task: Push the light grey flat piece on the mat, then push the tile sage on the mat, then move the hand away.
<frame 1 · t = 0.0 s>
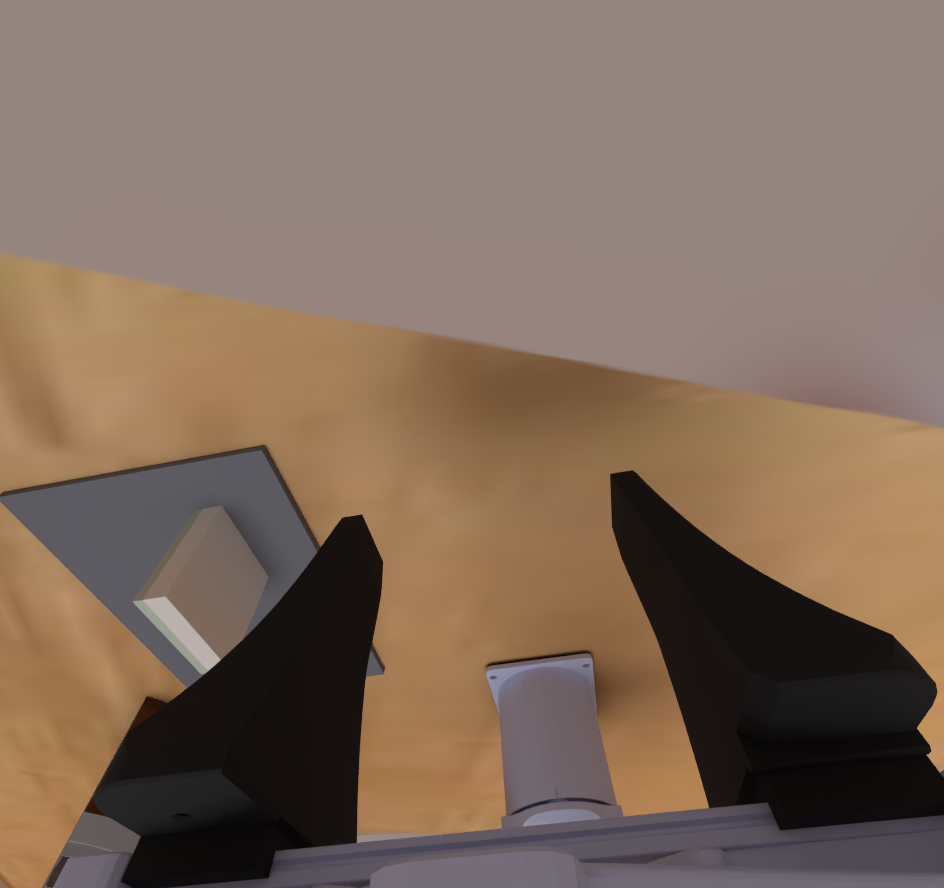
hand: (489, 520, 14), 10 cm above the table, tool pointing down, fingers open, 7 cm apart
tile sage: (234, 545, 28), resting on mat
food container: (172, 728, 41), on the table
mat: (225, 595, 31), on the table
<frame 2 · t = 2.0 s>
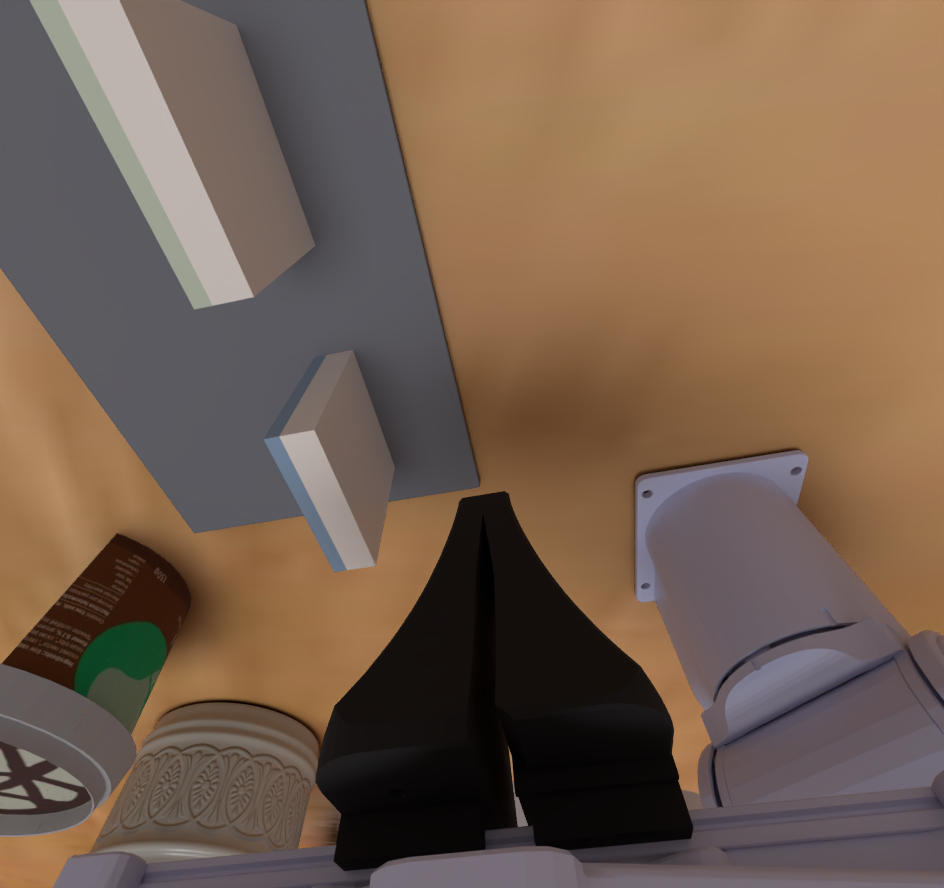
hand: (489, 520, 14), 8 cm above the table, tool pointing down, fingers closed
tile sage: (256, 153, 15), resting on mat
jar: (241, 737, 38), on the table
light grey flat piece: (358, 416, 21), resting on mat
food container: (157, 598, 28), on the table
mat: (239, 304, 18), on the table
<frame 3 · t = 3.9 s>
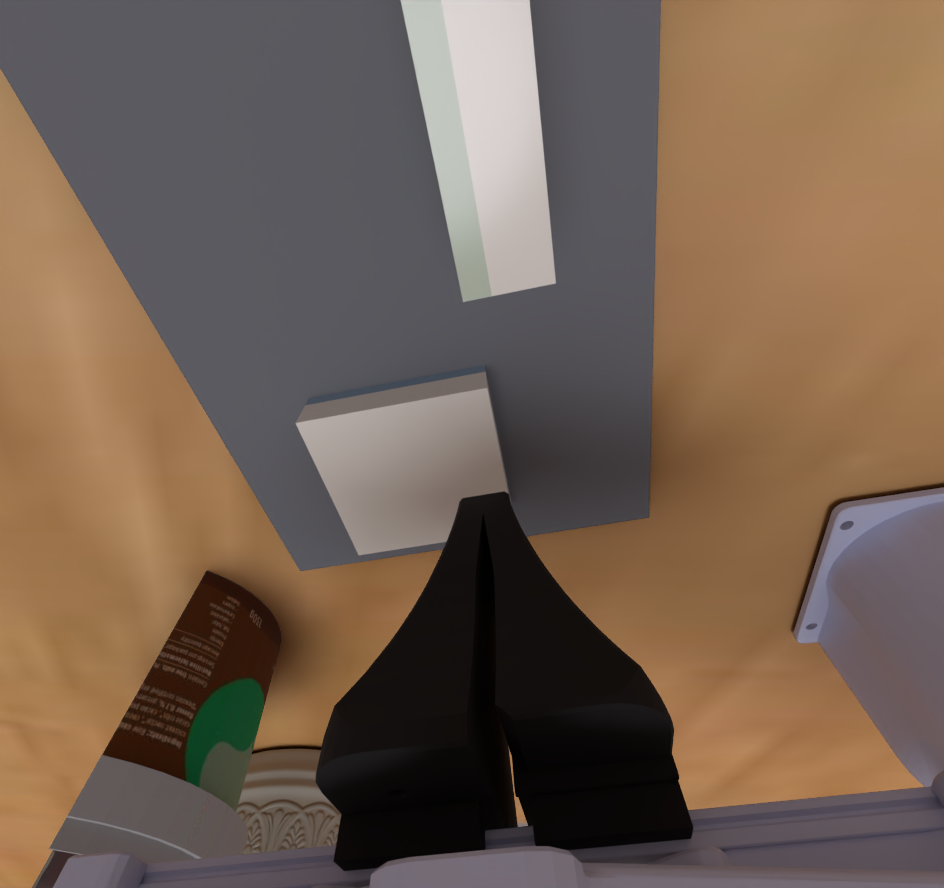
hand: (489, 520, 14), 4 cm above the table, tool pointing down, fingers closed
tile sage: (469, 95, 11), resting on mat
jar: (311, 782, 34), on the table
light grey flat piece: (501, 453, 16), point 1 cm above the table, tilted 90°, touching mat
food container: (241, 640, 24), on the table
mat: (401, 298, 14), on the table
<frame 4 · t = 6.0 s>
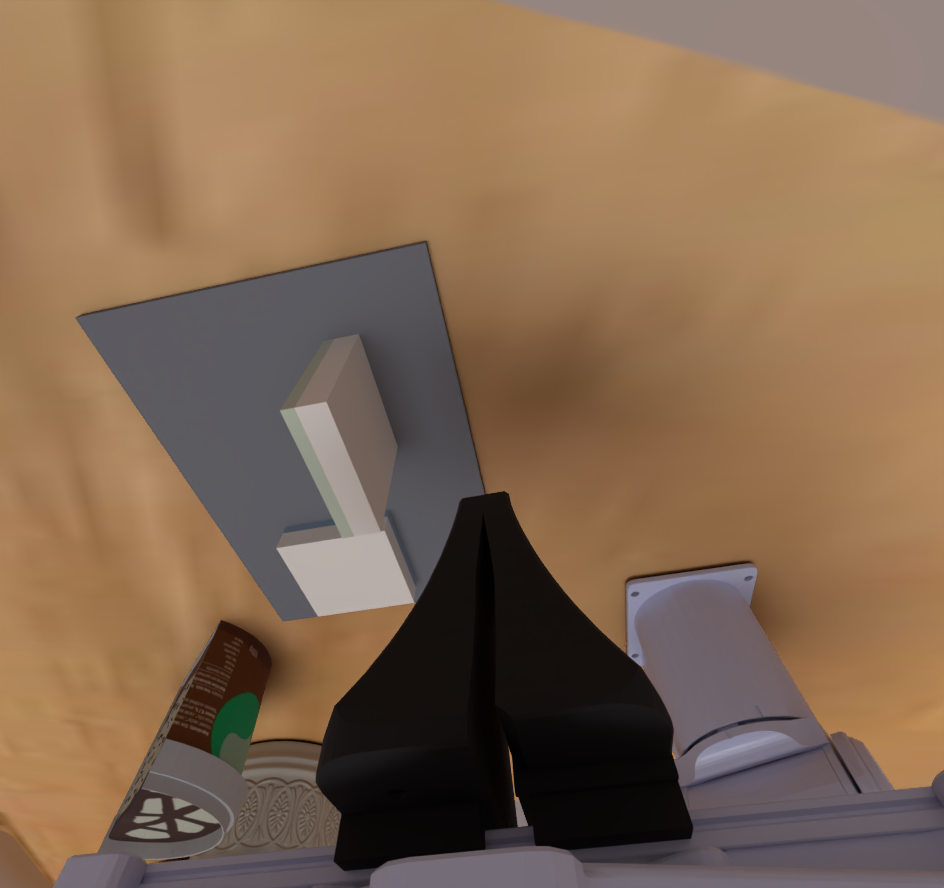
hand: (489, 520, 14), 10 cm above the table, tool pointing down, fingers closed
tile sage: (363, 397, 22), resting on mat
jar: (296, 767, 45), on the table
light grey flat piece: (401, 558, 27), point 1 cm above the table, tilted 90°, touching mat
food container: (243, 664, 35), on the table
mat: (337, 477, 25), on the table
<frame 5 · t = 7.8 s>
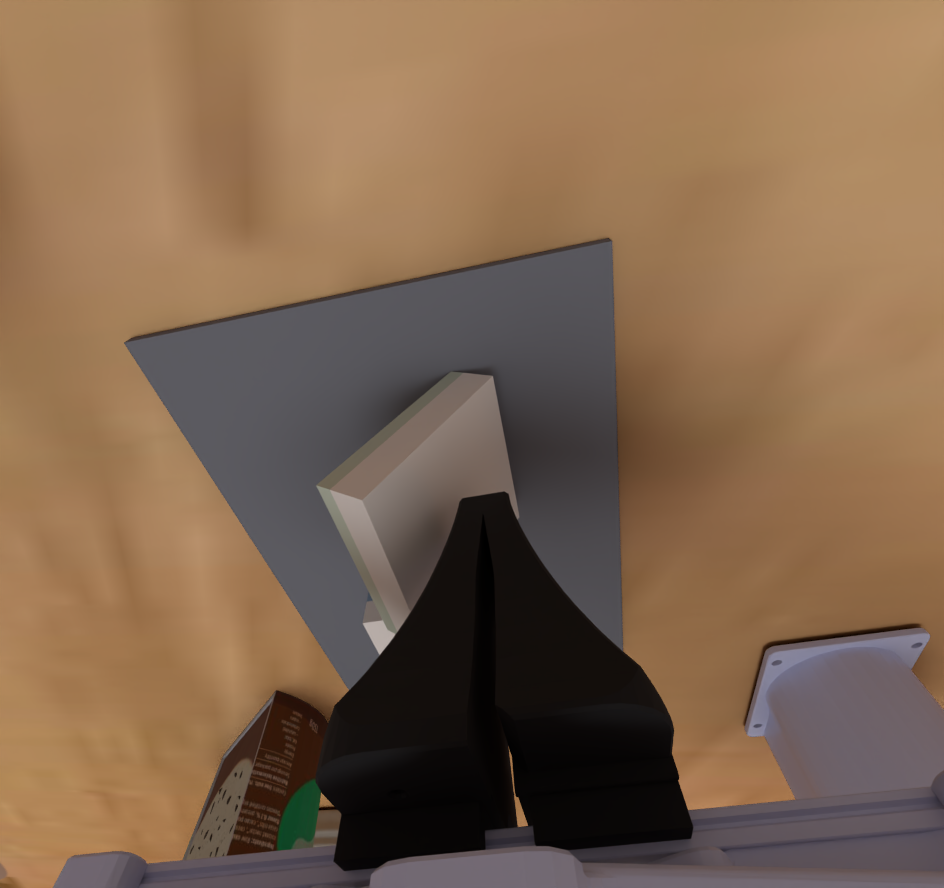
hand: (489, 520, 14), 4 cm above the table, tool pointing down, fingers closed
tile sage: (487, 449, 17), point 1 cm above the table, tilted 33°, touching mat
jar: (343, 832, 40), on the table
light grey flat piece: (509, 629, 22), point 1 cm above the table, tilted 90°, touching mat
food container: (296, 734, 30), on the table
mat: (438, 534, 20), on the table
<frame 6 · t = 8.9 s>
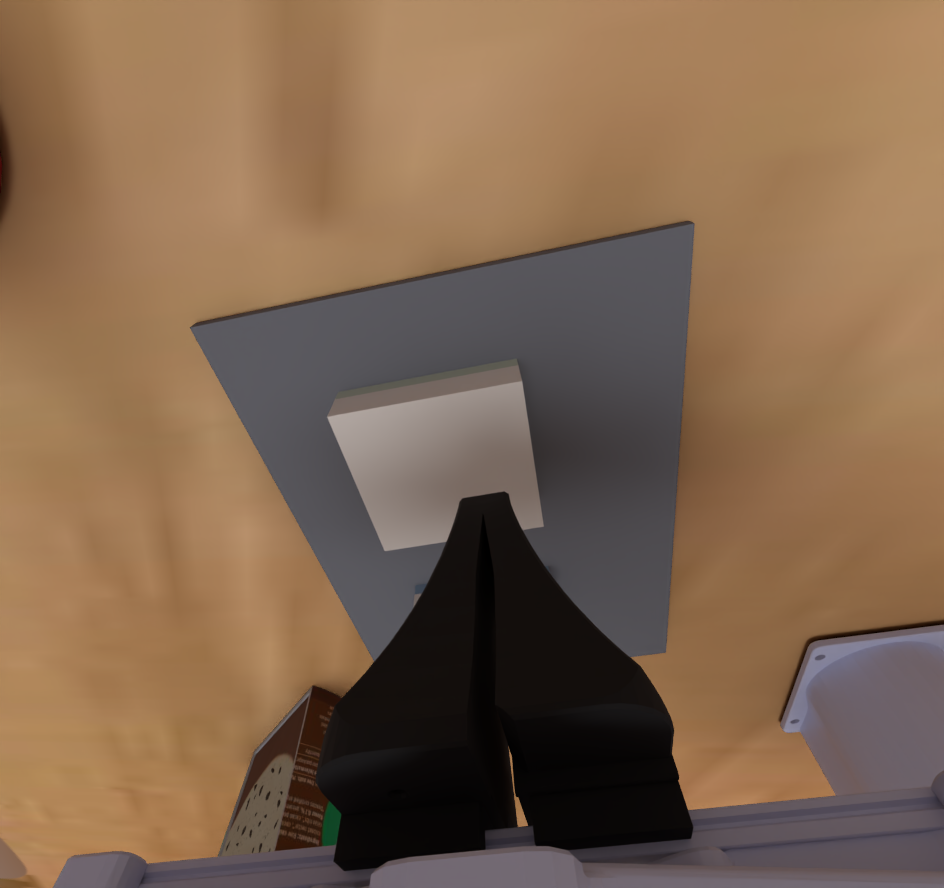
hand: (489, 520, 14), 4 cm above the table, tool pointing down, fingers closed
tile sage: (531, 447, 16), point 1 cm above the table, tilted 90°, touching mat
food container: (328, 730, 30), on the table
mat: (490, 526, 20), on the table
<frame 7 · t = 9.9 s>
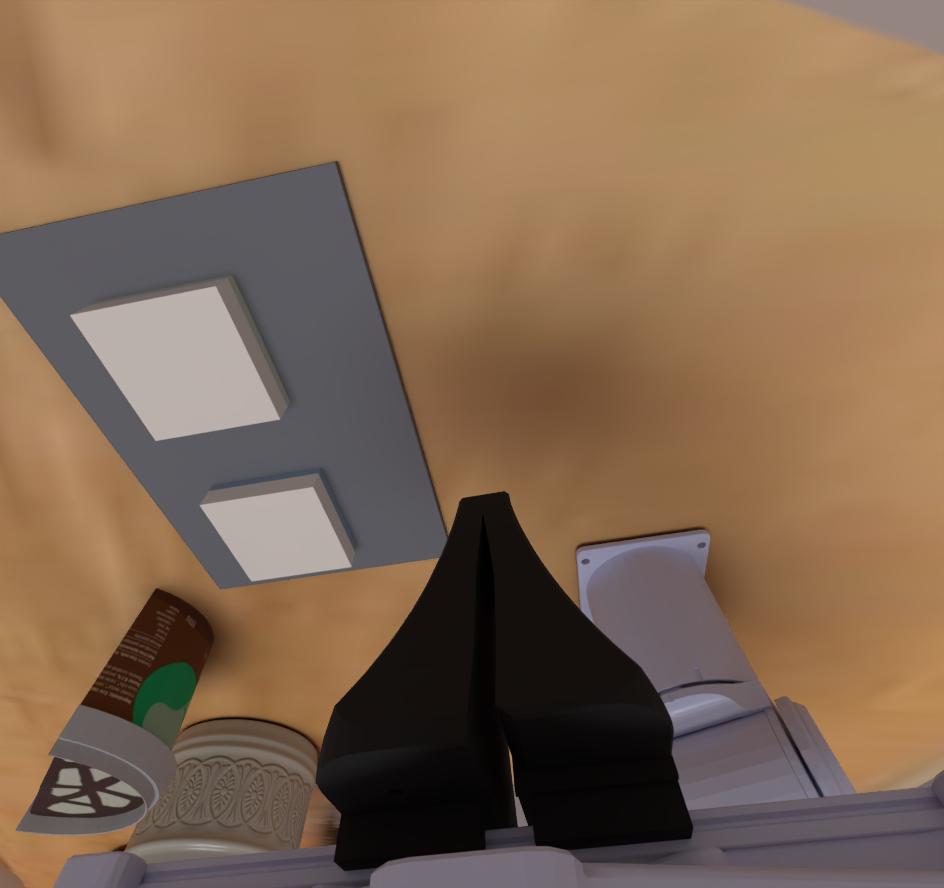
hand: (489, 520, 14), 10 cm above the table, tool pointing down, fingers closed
tile sage: (257, 350, 20), point 1 cm above the table, tilted 90°, touching mat
jar: (250, 747, 44), on the table
light grey flat piece: (336, 519, 26), point 1 cm above the table, tilted 90°, touching mat
food container: (184, 636, 34), on the table
mat: (264, 430, 24), on the table
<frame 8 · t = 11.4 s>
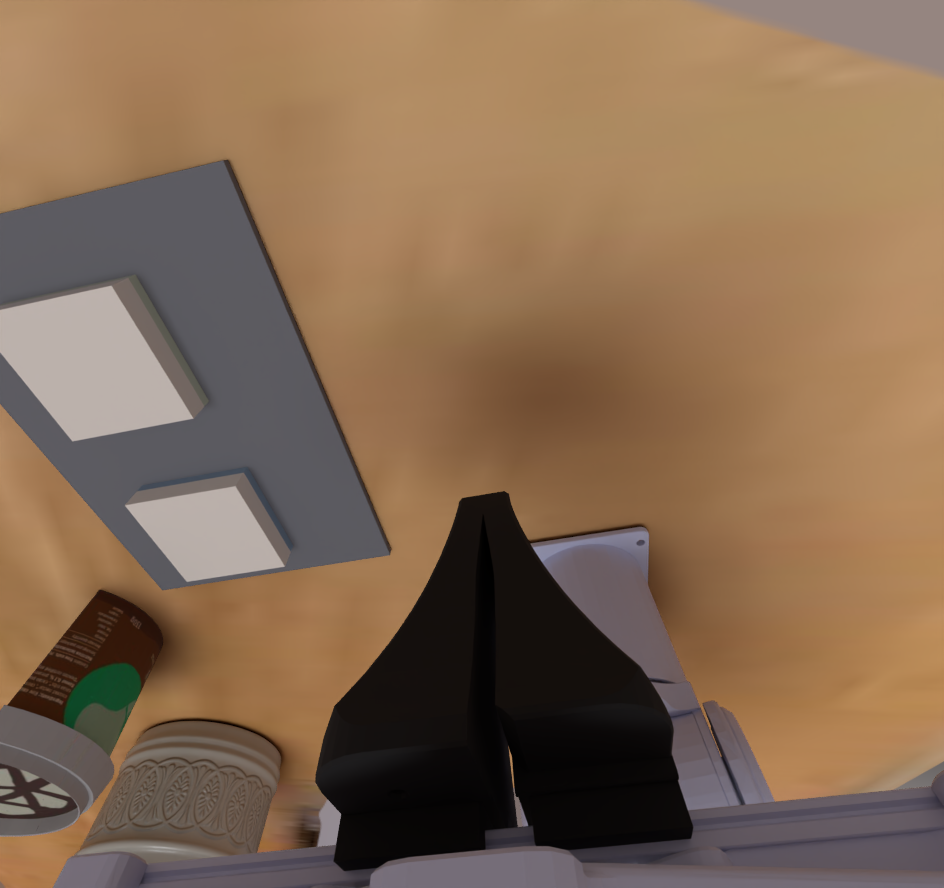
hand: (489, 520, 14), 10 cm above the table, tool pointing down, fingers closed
tile sage: (165, 350, 20), point 1 cm above the table, tilted 90°, touching mat
jar: (213, 749, 44), on the table
light grey flat piece: (266, 518, 26), point 1 cm above the table, tilted 90°, touching mat
food container: (134, 638, 34), on the table
mat: (188, 430, 24), on the table
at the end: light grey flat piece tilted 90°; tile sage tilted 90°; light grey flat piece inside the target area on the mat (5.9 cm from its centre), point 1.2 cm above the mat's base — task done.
